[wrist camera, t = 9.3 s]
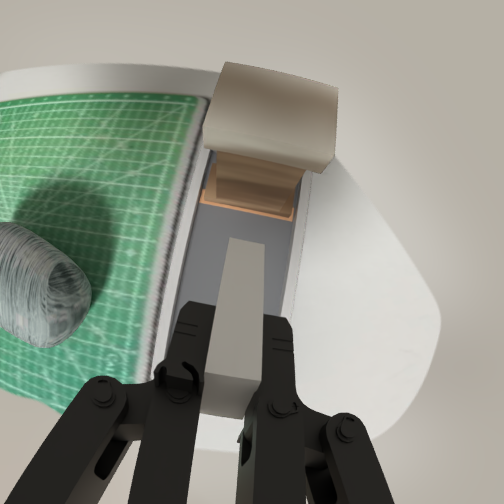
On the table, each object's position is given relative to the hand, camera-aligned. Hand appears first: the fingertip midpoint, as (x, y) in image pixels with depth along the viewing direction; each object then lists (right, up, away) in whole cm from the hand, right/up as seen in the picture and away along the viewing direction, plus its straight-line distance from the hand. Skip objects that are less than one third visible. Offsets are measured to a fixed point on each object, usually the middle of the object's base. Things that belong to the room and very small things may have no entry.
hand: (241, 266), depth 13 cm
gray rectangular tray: (-1, -1, +13) cm, 13 cm away
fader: (0, +6, +11) cm, 13 cm away
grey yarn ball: (-20, -3, +10) cm, 22 cm away
